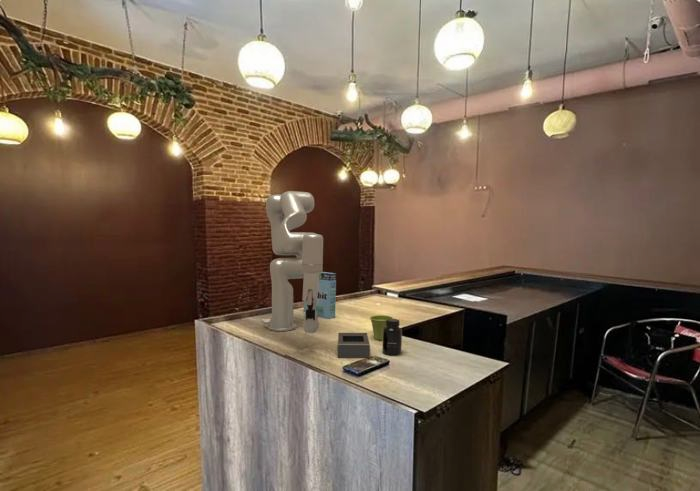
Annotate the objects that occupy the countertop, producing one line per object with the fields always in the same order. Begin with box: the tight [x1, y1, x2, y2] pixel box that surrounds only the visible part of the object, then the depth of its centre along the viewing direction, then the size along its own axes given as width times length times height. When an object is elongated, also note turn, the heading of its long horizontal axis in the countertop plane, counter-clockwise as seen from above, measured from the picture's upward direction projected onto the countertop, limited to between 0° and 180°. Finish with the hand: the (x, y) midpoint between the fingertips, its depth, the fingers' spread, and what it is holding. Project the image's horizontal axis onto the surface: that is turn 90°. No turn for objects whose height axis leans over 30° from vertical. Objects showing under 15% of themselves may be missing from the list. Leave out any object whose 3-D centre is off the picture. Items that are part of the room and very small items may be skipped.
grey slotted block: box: [337, 332, 371, 359], centre depth 133 cm, size 11×15×5 cm
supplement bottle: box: [382, 318, 403, 357], centre depth 132 cm, size 7×7×12 cm
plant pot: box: [369, 314, 394, 341], centre depth 150 cm, size 9×9×9 cm
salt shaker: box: [302, 298, 320, 334], centre depth 132 cm, size 6×6×13 cm
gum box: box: [303, 271, 337, 320], centre depth 191 cm, size 20×5×23 cm, turn 48°
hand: (310, 318), depth 132 cm, fingers closed on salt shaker, 3 cm apart
